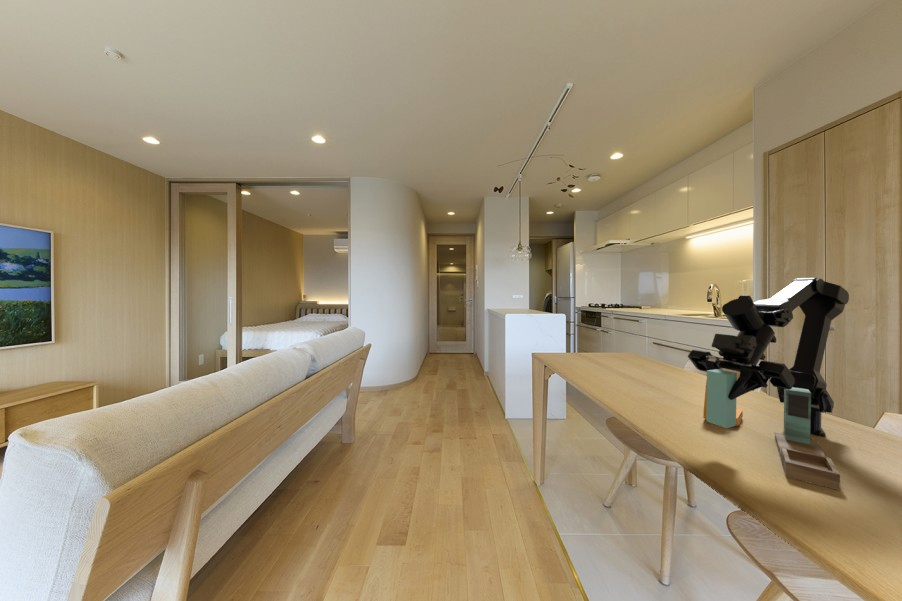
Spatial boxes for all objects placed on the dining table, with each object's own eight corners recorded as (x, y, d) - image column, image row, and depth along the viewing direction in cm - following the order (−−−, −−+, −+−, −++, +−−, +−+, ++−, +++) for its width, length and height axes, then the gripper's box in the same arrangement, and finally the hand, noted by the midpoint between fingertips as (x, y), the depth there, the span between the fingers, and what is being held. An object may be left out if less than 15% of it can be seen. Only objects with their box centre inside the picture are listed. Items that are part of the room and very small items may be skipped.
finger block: (716, 419, 76) (717, 369, 76) (736, 425, 72) (737, 373, 72) (706, 421, 75) (706, 370, 75) (725, 428, 71) (726, 374, 71)
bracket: (737, 429, 86) (737, 384, 86) (703, 421, 92) (703, 379, 92) (743, 418, 94) (743, 377, 93) (711, 411, 99) (711, 372, 99)
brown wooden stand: (774, 437, 81) (775, 384, 80) (816, 446, 76) (817, 390, 76) (785, 476, 64) (786, 410, 64) (839, 490, 60) (841, 419, 59)
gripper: (692, 318, 83) (661, 364, 80) (787, 325, 66) (753, 384, 62) (712, 346, 86) (683, 391, 83) (809, 360, 69) (777, 418, 65)
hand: (718, 395), depth 73 cm, fingers closed on finger block, 4 cm apart
